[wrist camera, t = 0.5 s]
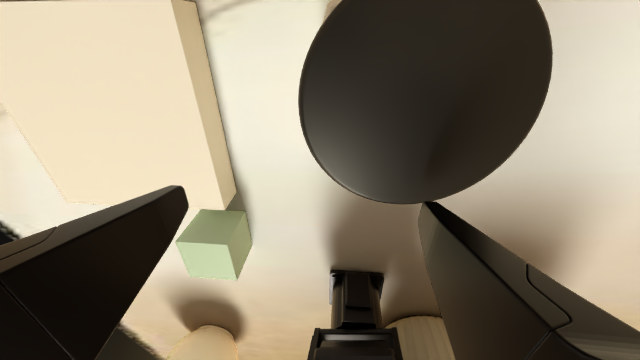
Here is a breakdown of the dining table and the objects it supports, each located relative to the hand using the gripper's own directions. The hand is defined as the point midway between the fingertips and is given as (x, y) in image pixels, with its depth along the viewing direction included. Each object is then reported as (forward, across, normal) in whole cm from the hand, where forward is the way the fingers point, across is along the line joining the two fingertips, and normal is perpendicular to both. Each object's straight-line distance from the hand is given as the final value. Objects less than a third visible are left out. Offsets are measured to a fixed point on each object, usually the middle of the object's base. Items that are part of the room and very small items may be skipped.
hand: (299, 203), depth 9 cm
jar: (+13, -4, -4) cm, 14 cm away
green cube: (+14, +11, +14) cm, 22 cm away
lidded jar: (+14, +17, +38) cm, 44 cm away
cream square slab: (+13, +17, +1) cm, 22 cm away
